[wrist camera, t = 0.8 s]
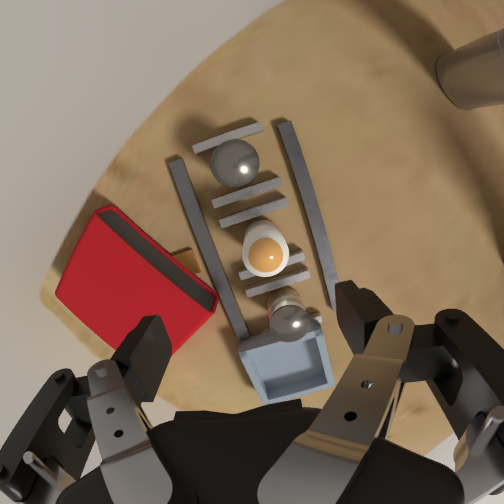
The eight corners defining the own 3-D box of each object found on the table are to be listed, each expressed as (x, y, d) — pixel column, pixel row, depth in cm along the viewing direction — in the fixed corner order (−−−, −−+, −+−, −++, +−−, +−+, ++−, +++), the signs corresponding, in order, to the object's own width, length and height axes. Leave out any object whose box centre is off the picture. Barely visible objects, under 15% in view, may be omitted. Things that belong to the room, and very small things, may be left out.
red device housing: (71, 279, 34) (52, 293, 30) (112, 203, 31) (91, 210, 26) (161, 355, 38) (151, 377, 33) (219, 295, 34) (213, 316, 29)
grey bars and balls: (287, 115, 29) (294, 104, 23) (343, 309, 35) (356, 330, 30) (138, 171, 30) (117, 171, 25) (212, 348, 37) (207, 373, 32)
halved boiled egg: (274, 214, 32) (281, 226, 25) (286, 249, 33) (295, 270, 26) (239, 226, 32) (235, 241, 25) (251, 260, 33) (250, 284, 26)
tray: (316, 316, 36) (321, 328, 33) (330, 372, 38) (335, 385, 36) (238, 340, 37) (237, 352, 34) (263, 392, 39) (263, 405, 37)
